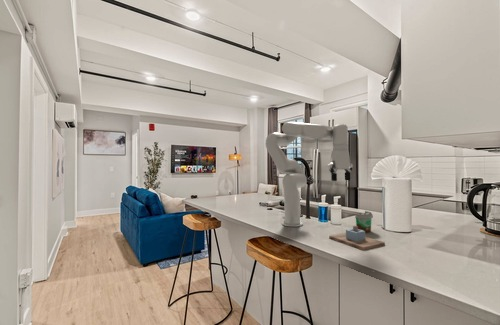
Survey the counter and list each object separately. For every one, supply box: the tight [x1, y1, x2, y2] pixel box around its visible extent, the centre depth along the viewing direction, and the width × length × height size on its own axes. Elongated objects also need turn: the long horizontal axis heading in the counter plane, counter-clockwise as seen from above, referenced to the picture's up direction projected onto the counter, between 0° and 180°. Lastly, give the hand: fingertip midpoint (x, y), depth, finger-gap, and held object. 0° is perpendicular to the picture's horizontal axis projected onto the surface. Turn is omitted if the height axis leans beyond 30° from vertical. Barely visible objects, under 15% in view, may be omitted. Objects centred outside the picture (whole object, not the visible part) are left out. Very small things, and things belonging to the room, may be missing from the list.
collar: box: [345, 228, 366, 242], centre depth 117 cm, size 6×6×4 cm
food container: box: [354, 210, 374, 234], centre depth 133 cm, size 12×6×10 cm, turn 131°
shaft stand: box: [328, 225, 386, 251], centre depth 117 cm, size 20×14×7 cm
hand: (341, 180), depth 130 cm, fingers open, 9 cm apart
